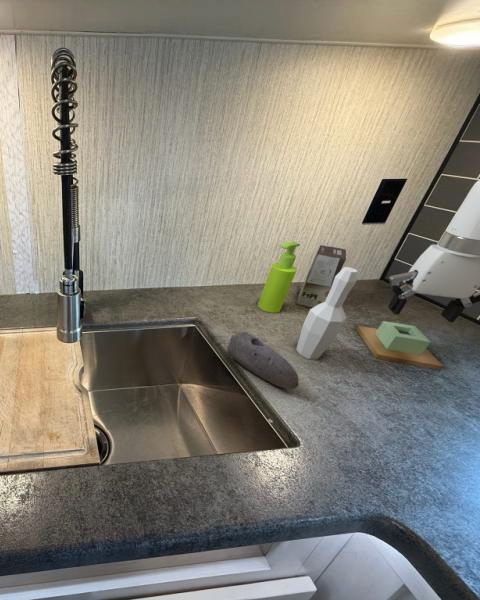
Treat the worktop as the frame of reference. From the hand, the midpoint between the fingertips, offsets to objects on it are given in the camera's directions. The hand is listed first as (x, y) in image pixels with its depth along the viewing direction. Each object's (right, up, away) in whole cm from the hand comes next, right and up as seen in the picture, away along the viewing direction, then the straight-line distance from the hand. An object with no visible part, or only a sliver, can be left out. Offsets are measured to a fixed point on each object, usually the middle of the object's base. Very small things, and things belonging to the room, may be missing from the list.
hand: (419, 315), depth 71 cm
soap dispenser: (-22, +1, +20) cm, 30 cm away
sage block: (-1, -7, +5) cm, 9 cm away
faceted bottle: (-23, -9, +3) cm, 25 cm away
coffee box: (-7, +3, +24) cm, 25 cm away
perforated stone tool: (-38, -13, -2) cm, 40 cm away
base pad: (-1, -8, +5) cm, 10 cm away
